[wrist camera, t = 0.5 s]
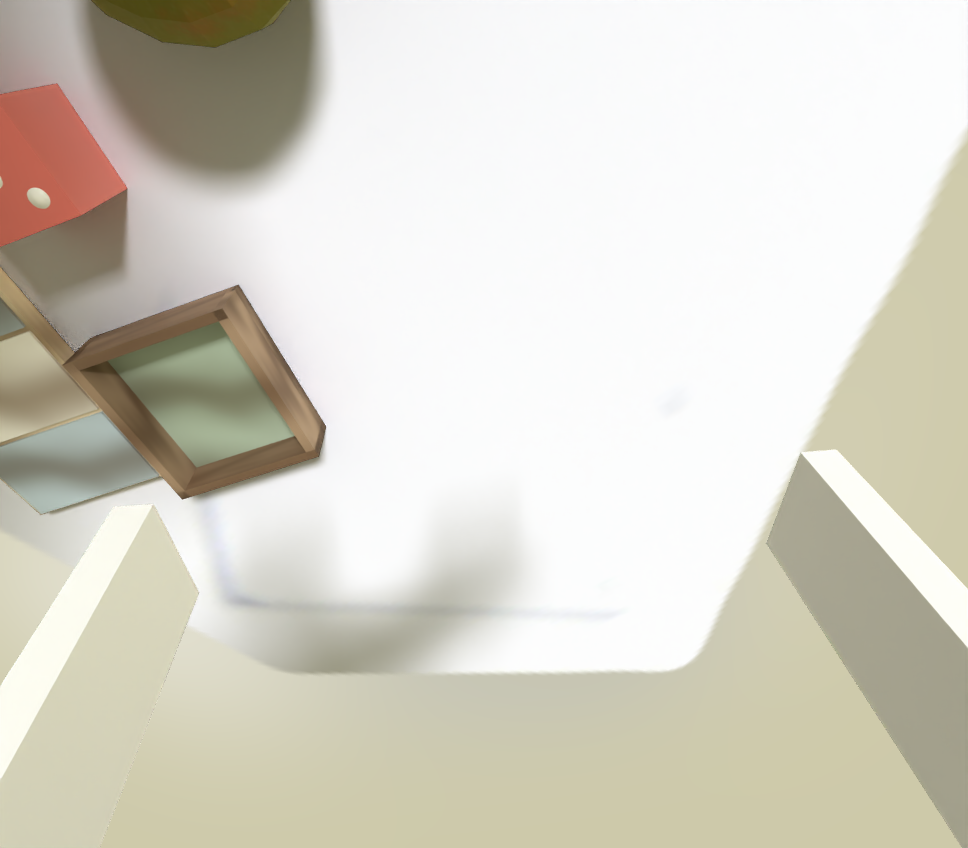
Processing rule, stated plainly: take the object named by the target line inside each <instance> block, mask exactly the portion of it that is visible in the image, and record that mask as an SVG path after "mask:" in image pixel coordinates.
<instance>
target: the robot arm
mask: <svg viewBox="0 0 968 848" xmlns="http://www.w3.org/2000/svg"><path fill="white" fill-rule="evenodd" d="M767 545H768V547H769V548H770V550H771V552H772V553H773V554H774V556H775V558H776V559H777V561H778V562H779V564H780V566H781V567H782V568H783V570H784V572H785V573H786V575H787V576H788V578H789V580H790V581H791V583H792V584H793V586H794V587H795V589H796V590H797V592H798V593H799V595H800V597H801V598H802V600H803V601H804V603H805V604H806V606H807V608H808V609H809V611H810V612H811V614H812V615H813V617H814V618H815V620H816V621H817V623H818V625H819V626H820V628H821V629H822V631H823V632H824V634H825V636H826V637H827V639H828V640H829V642H830V643H831V645H832V646H833V648H834V649H835V651H836V652H837V654H838V656H839V657H840V659H841V660H842V662H843V663H844V665H845V667H846V668H847V670H848V671H849V673H850V674H851V676H852V677H853V679H854V680H855V682H856V684H857V685H858V687H859V688H860V690H861V691H862V693H863V695H864V696H865V698H866V699H867V701H868V702H869V704H870V705H871V707H872V709H873V710H874V711H875V713H876V715H877V716H878V718H879V719H880V721H881V723H882V724H883V726H884V727H885V729H886V730H887V732H888V733H889V735H890V737H891V738H892V740H893V741H894V743H895V744H896V746H897V747H898V749H899V751H900V752H901V754H902V755H903V757H904V758H905V760H906V761H907V763H908V764H909V766H910V768H911V769H912V771H913V772H914V774H915V775H916V777H917V779H918V780H919V782H920V783H921V785H922V786H923V788H924V789H925V791H926V793H927V794H928V796H929V797H930V799H931V800H932V802H933V803H934V805H935V807H936V808H937V810H938V811H939V813H940V814H941V816H942V817H943V819H944V820H945V822H946V824H947V825H948V827H949V828H950V830H951V831H952V833H953V835H954V836H955V838H956V839H957V841H958V842H959V843H960V845H961V847H962V848H968V589H967V588H966V587H965V586H964V585H963V584H962V582H961V581H960V580H959V579H958V578H957V577H956V576H955V575H954V574H953V573H952V572H951V571H950V570H949V569H948V568H947V567H946V565H944V563H943V562H942V561H941V560H940V559H939V558H938V557H937V556H936V555H935V554H934V553H933V552H932V551H931V550H930V549H929V547H928V546H927V545H926V544H925V543H924V542H923V541H922V540H921V539H920V538H919V537H918V536H917V535H916V534H915V533H914V532H913V530H912V529H911V528H910V527H909V526H908V525H907V524H906V523H905V522H904V521H903V520H902V519H901V518H900V517H899V516H898V515H897V514H896V512H895V511H894V510H893V509H892V508H891V507H890V506H889V505H888V504H887V503H886V502H885V501H884V500H883V499H882V498H881V497H880V495H879V494H878V493H877V492H876V491H875V490H874V489H873V488H872V487H871V486H870V485H869V484H868V483H867V482H866V481H865V480H864V478H863V477H862V476H861V475H860V474H859V473H858V472H857V471H856V470H855V469H854V468H853V467H852V466H851V465H850V464H849V463H848V461H847V460H846V459H845V458H844V457H843V456H842V455H841V454H840V453H839V452H838V451H837V450H825V451H813V452H801V453H800V456H799V458H798V461H797V464H796V466H795V469H794V472H793V474H792V477H791V479H790V482H789V485H788V487H787V490H786V493H785V495H784V498H783V501H782V504H781V506H780V508H779V511H778V514H777V516H776V519H775V522H774V524H773V527H772V530H771V532H770V535H769V537H768V540H767ZM198 595H199V592H198V590H197V588H196V586H195V584H194V582H193V580H192V578H191V576H190V574H189V572H188V570H187V568H186V566H185V564H184V562H183V560H182V558H181V556H180V555H179V553H178V551H177V549H176V547H175V545H174V543H173V541H172V539H171V537H170V535H169V533H168V531H167V529H166V527H165V525H164V523H163V521H162V519H161V518H160V516H159V514H158V512H157V510H156V508H155V506H154V504H145V505H132V506H119V507H113V508H112V510H111V512H110V513H109V515H108V516H107V518H106V519H105V521H104V523H103V524H102V526H101V527H100V529H99V531H98V532H97V534H96V535H95V537H94V538H93V540H92V542H91V543H90V545H89V546H88V548H87V550H86V551H85V553H84V554H83V556H82V557H81V559H80V561H79V562H78V564H77V565H76V567H75V569H74V570H73V572H72V573H71V575H70V576H69V578H68V580H67V581H66V583H65V585H64V586H63V588H62V589H61V591H60V592H59V594H58V596H57V597H56V599H55V600H54V602H53V603H52V605H51V607H50V608H49V610H48V612H47V613H46V615H45V616H44V618H43V619H42V621H41V622H40V624H39V626H38V627H37V629H36V630H35V632H34V634H33V635H32V637H31V638H30V640H29V642H28V643H27V645H26V646H25V648H24V650H23V651H22V653H21V654H20V656H19V657H18V659H17V660H16V662H15V664H14V665H13V667H12V669H11V670H10V672H9V673H8V675H7V676H6V678H5V679H4V681H3V683H2V684H1V686H0V848H100V846H101V843H102V841H103V838H104V836H105V833H106V830H107V828H108V825H109V823H110V820H111V818H112V815H113V813H114V810H115V807H116V805H117V802H118V800H119V797H120V795H121V792H122V790H123V787H124V784H125V782H126V779H127V777H128V774H129V772H130V769H131V766H132V764H133V761H134V759H135V756H136V754H137V751H138V748H139V746H140V743H141V741H142V738H143V736H144V733H145V730H146V728H147V725H148V723H149V720H150V718H151V715H152V712H153V710H154V707H155V705H156V702H157V700H158V697H159V694H160V692H161V689H162V687H163V684H164V682H165V679H166V677H167V674H168V671H169V669H170V666H171V664H172V661H173V659H174V656H175V654H176V651H177V648H178V646H179V643H180V641H181V638H182V635H183V633H184V630H185V628H186V625H187V623H188V620H189V618H190V615H191V612H192V610H193V607H194V605H195V602H196V600H197V597H198Z"/></svg>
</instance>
